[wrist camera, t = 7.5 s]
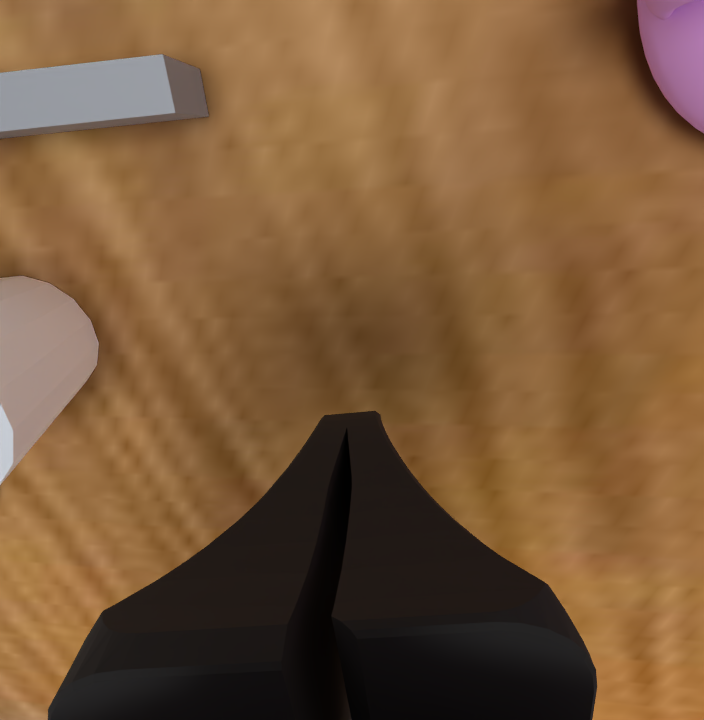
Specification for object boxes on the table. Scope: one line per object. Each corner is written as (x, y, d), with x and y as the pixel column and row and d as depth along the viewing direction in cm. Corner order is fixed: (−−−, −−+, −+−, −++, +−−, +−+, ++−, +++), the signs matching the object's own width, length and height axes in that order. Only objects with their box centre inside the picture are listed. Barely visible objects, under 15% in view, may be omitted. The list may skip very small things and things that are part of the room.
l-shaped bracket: (277, 472, 24) (264, 523, 21) (-28, 492, 25) (-84, 543, 22) (199, 69, 17) (162, 54, 14) (-224, 116, 18) (-349, 112, 15)
